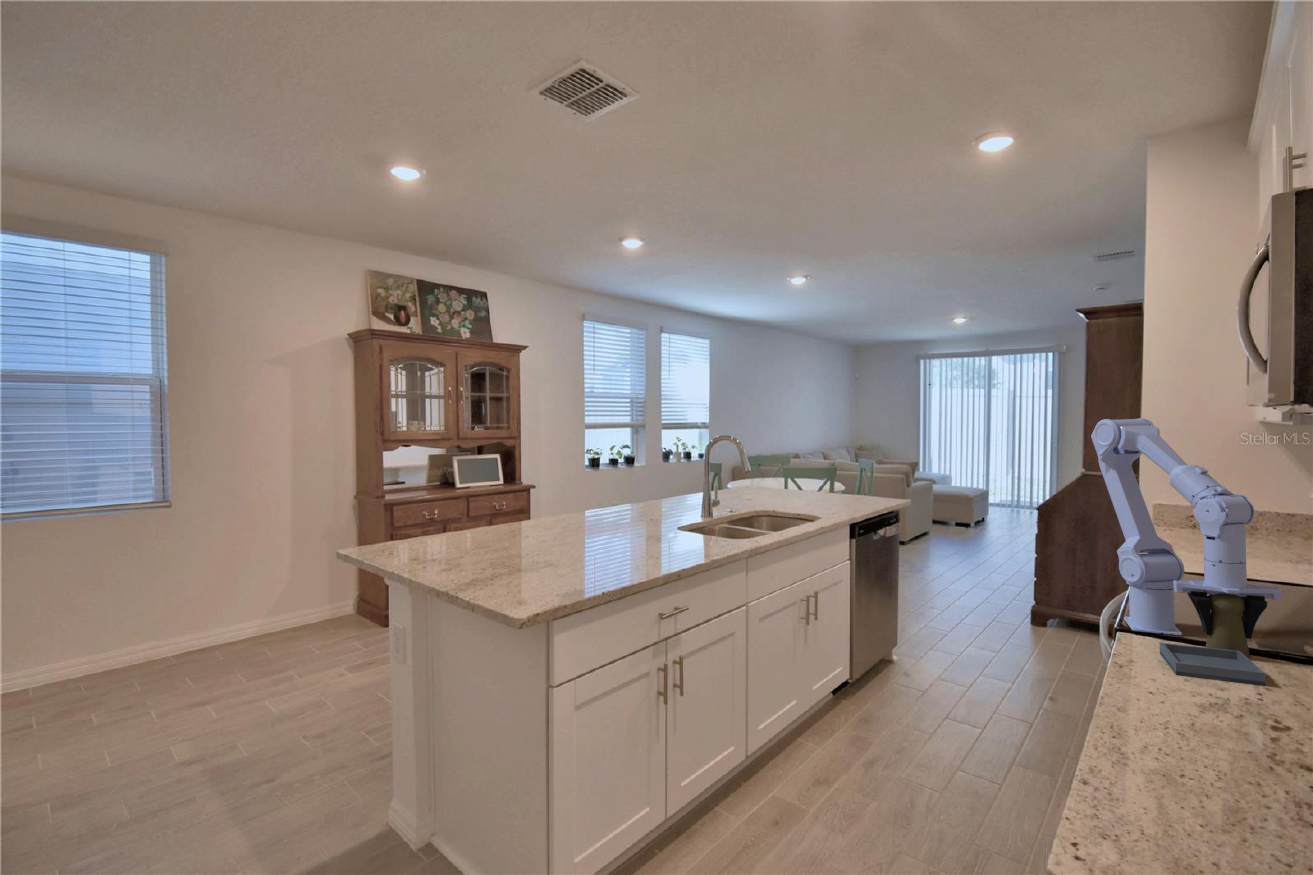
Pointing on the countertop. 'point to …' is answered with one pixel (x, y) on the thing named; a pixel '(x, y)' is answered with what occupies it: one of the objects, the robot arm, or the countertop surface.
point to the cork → (1227, 623)
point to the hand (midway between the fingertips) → (1226, 635)
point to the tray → (1211, 663)
